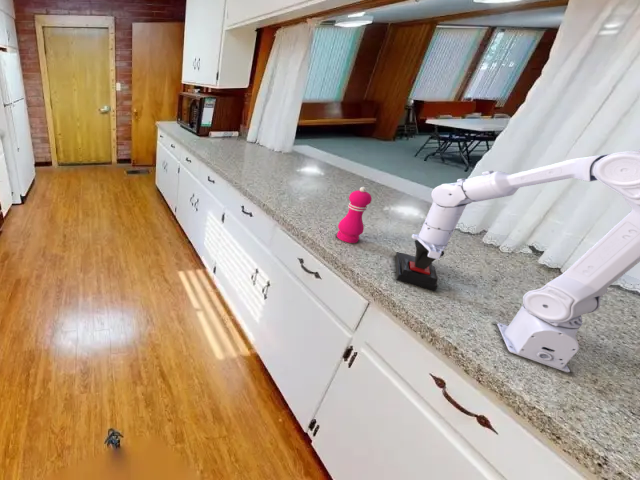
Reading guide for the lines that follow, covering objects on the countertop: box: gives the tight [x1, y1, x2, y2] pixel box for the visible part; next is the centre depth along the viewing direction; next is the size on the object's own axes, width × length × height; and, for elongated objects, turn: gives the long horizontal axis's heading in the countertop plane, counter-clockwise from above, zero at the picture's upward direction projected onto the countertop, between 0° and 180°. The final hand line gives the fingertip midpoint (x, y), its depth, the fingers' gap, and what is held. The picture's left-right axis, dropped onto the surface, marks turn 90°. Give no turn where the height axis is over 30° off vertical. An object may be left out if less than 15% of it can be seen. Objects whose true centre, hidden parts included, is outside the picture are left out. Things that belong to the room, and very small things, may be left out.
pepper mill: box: [336, 186, 373, 244], centre depth 101 cm, size 7×7×20 cm
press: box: [394, 251, 439, 292], centre depth 86 cm, size 14×8×4 cm, turn 142°
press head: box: [409, 261, 430, 275], centre depth 83 cm, size 4×4×2 cm
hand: (419, 267), depth 83 cm, fingers closed, pressing on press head
